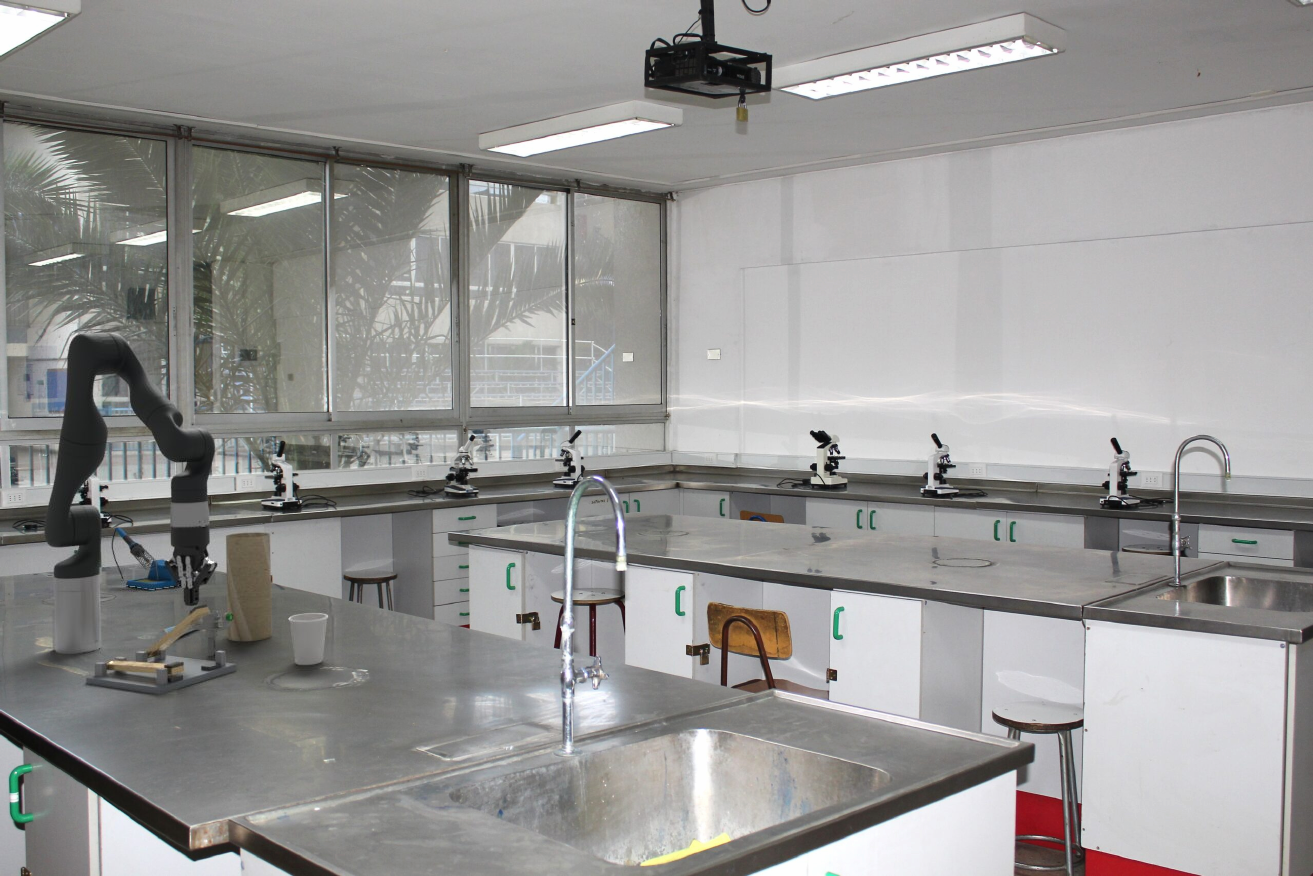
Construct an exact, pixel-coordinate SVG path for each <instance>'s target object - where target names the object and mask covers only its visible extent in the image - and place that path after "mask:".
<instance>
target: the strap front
mask: <svg viewBox="0 0 1313 876" xmlns="http://www.w3.org/2000/svg"><path fill="white" fill-rule="evenodd" d="M106 663H107V671H112V670H116V671H129V672H143V673H156V669H158V668H167V674H171V675H172V674H176V673H179V672H182V671H184V662H173V663H170V664H161V663H146V662H136V661H129V660H127V661H118V660H115V659H114V660H111V661H108V662H106Z"/></svg>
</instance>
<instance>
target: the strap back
mask: <svg viewBox="0 0 1313 876" xmlns="http://www.w3.org/2000/svg"><path fill="white" fill-rule="evenodd" d="M210 611H211V610H210V609H209V606H208V605H207V604H203V605H202V604H201V605H198V606H197V605H196V606H194V607H193V608H192V609H190V611H189V613H190V615H189V614H188V616H187V617H185V618H184V619H183V620H182V621H181V622H179V623H178V624H177V625H175V626H176V627H175V628H174V629H172V630H171V631H170V632H169V633H168V634H166V635H165V636H164V637H163V638H162V639H160V640H159V641H156V642H155V643H154V644H153V645H152V646H151V647H150V648H148V649H147V650H145V652H147V660H148V659H152V658H154V657H155V656H158V655H159V654H160V653H161V652H162V651H163V650H164V649H166V650H167V648H168V647H169V646H170V645H172V644H173V643H174V642H175V641H177V640H178V639H180V637H181V636H184V635H185V634H186V633H185V632H186V631H187V630H189V629H190V628H191V627H192V626H193V625H195V624H196V623H197V622H198V621H199V620H201V619H202V618H203V617H204V616H205V615H207V614H208V613H209V612H210ZM184 633H185V634H184Z"/></svg>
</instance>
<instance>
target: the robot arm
mask: <svg viewBox="0 0 1313 876" xmlns="http://www.w3.org/2000/svg"><path fill="white" fill-rule="evenodd" d="M67 351H68V352H67V359H66V360H67V362H66V390H65V391H66V393H65V401H64V409H63V410H64V411H63V412H64V413H63V417H62V425H61V430H60V435H59V442H58V449H57V450H58V451H57V460H56V466H55V467H56V468H55V474H54V481H53V485H52V490H51V493H50V497H49V502H48V506H47V508H46V514H45V518H44V519H45V520H44V527H43V531H44V538H45V541H46V543H47V545H48V546H50V547H52V548H68V547H69V548H70V547H78V549H77V551H76V552H75V553H74V554H73V555H71V556H70V557H68V558H66V559H64V560H62V561H59V562H57V563H56V564H55V565H54V567H53V590H54V591H53V592H54V608H53V609H52V610H51V623H52V624H51V625H52V627H51V628H52V651H54V652H56V653H57V654H61V655H62V654H63V655H75V654H83V653H84V652H85V653H89V652H94V651H97V650H100V649H101V648H102V620H101V619H102V618H101V617H102V616H101V576H100V575H101V574H100V573H101V572H100V568H101V562H102V560H101V559H102V533H103V532H102V531H103V530H102V528H103V527H102V526H103V525H102V515H101V513H100V511H99V509H98V508H97V507H96V506H95V505H93V504H84V505H83V504H82V505H72V504H73V501H74V499H75V496H76V495H77V494H78V491H79V489H81V487H82V486H83V485H84V483H86V482H87V480H89V478H90V477H91V476H92V475H93V474H94V472H96V470H97V469H98V468H99V467H100V465H101V464H102V462H103V461H104V458H105V454H106V448H107V442H108V438H109V437H108V436H109V430H108V427H107V424H106V421H105V418H104V417H103V415H102V414H101V412H100V410H99V409H98V407H97V405H96V402H95V400H94V385H95V381H96V380H95V379H96V377H97V376H105V375H106V376H108V375H114V374H115V375H116V376H118V377H119V378H121V379H122V380H123V381H124V382H125V383H126V385H128V389H129V392H128V393H129V404H130V406H131V408H132V411H133V413H134V414H135V415H136V417H137V418H138V419H139V421H140V422H142V423H143V424H144V425H145V426H146V428H147V429H149V431H151V434H152V436H153V439H154V441H155V443H156V446H158V450H159V451H160V453H161V454H162V456H163V457H165V458H166V459H167V460H169V461H170V462H173V463H186V464H185V467H184V470H183V471H181V472H180V473H177V474H175V475H174V476H172V478H171V480H170V512H169V527H170V545H171V547H173V548H174V549H173V552H172V556H171V558H170V559H167V560H165V562H164V564H165V566H166V568H167V569H168V571H169V573H170V575H171V576H172V578H173V580H174V581H175V583H176V584H180V585H181V586H180V587H181V588H182V589H183V602H184V605H185V606H187V607H193V606H194V607H195V606H197V605H198V604H199V602H200V587H202V586H203V585H204V586H205V585H206V584H208V582H209V580H210V578H211V577H213V574H214V572H215V571H216V569H217V567H218V562H217V561H212V559H210V557H209V556H210V555H209V554H210V553H209V552H208V545H209V544H210V541H211V540H210V539H211V537H210V533H211V531H210V508H209V502H208V482H209V481H208V480H209V477H210V473H211V469H212V465H213V461H214V457H215V452H216V446H215V444H216V443H215V440H214V437H213V436H212V434H211V433H210V432H209V431H208V429H207V430H206V429H205V428H200V427H199V428H198V427H197V428H192V427H191V428H181V427H182V425H183V423H184V417H183V414H182V412H181V411H180V410H179V409H178V408H177V407H176V406H175V404H173V402H172V401H171V400H170V399H169V398H168V397H167V396H166V395H165V394H164V393H163V392H162V391H161V390H160V388H159V387H158V385H156V384H155V382H154V381H153V378H152V377H151V376H150V374H149V373H148V371H147V370H146V368H145V366H144V364H143V363H142V362H141V360H140V358H139V357H138V356H137V354H136V353H135V351H134V349H133V348H132V346H131V345H130V343H129V342H128V340H126V339H125V338H124V337H123V336H122V335H120V334H119V333H116V332H108V331H107V332H88V333H85V332H84V333H80V334H79V333H78V334H77V335H75V336H74V337H72V339H71V341H70V343H69V347H68V350H67ZM178 575H179V576H178ZM179 577H180V578H179ZM99 648H100V649H99ZM93 650H94V651H93Z"/></svg>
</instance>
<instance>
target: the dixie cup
mask: <svg viewBox="0 0 1313 876" xmlns="http://www.w3.org/2000/svg"><path fill="white" fill-rule="evenodd" d="M328 618H329V615H328V614H326V613H320V612H319V613H318V612H308V613H299V614H294V615H291V616H290V617H288V621H289V627H290V633H291V634H290V635H291V640H292V641H291V642H292V648H293V655H294V662H295V664H296V665H298V666H310V665H311V666H312V665H316V664H320V663H323V659H324V658H323V657H324V649H325V641H326V640H325V639H326V633H327V632H326V631H327V624H328V623H327V622H328Z"/></svg>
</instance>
